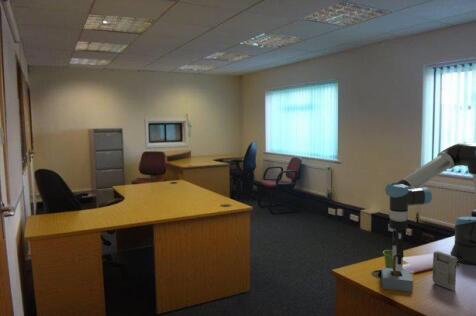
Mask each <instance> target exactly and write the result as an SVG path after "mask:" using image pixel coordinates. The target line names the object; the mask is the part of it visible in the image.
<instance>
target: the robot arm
mask: <svg viewBox="0 0 476 316" xmlns="http://www.w3.org/2000/svg"><path fill="white" fill-rule="evenodd" d="M436 155H437V156H436V157H435V158H433V159H432V160H430V161H428V162H427V163H425V164H424V165H422V166H421V167H419V168H417V169H416V170H414V171H413V172H411V173H410V174H408V175H407V176H405V177H404V178H402V179H400V180H398V181H397V182H396V181H395V182H388V183H387V184H386V186H385V188H384V191H385V194H386V195H387V197H389V211H387V214H388V215H389V220H388V226H389V228H390V229H392V241H391V242H392V250H393V254H392V259H393V256H395V257H396V271H402V270H404V269H403V261H404V260H403V259H404V232H403V230H407V229H408V223H409V221H408V219H409V217H408V216H409V206H419V205H421V206H423V205H428V204H430V203H431V201H432V198H433V193H432V191H431V190H430V189H429V188H427V187H422V186H423V185H424V184H426V183H428V182H429V181H431V180H432V179H434V178H435V177H438V176H439V175H440V174H442V173H444V172H445V171H446V170H451V169H453V168H455V167H458V166H459V167H460V166H463V167H467V172H468V173H469V175H471V176H472V179H473V180H472V181H473V185H474V186H473V187H474V192H475V194H476V142H466V141H465V142H459V143H456V144H453V145H451V146H449V147H447V148H445V149H444V150H442V151H440V152H438V153H437V154H436ZM450 254H451V255H452V256H455V257H457V260H458V262H457V263H460V264H463V265H464V264H465V265H469V266H470V265H471V266H476V216H459V217H457V218H456V219H455V224H454V244H453V246H452V248H451V251H450ZM450 254H449V255H450Z"/></svg>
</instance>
